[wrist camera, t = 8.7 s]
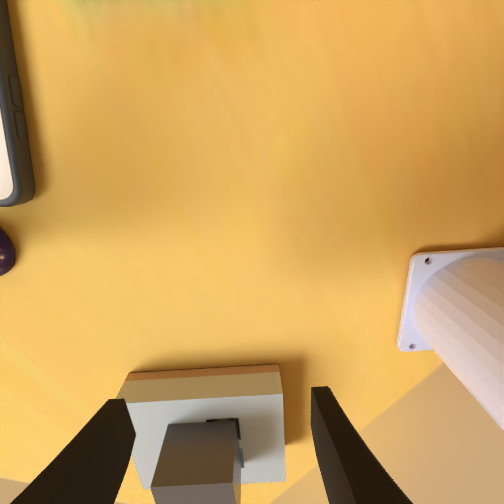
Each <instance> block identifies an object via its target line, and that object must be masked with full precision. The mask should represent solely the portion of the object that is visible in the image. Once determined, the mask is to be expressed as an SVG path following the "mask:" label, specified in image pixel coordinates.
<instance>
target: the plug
mask: <svg viewBox="0 0 504 504" xmlns="http://www.w3.org/2000/svg"><path fill="white" fill-rule="evenodd" d="M150 488H151V491H152V494H153V497H154V500H155V503H156V504H240V497H241V458H240V450H239V442H238V435H237V427H236V420H233V421H230V418H224V419H218V421H215V422H198V423H181V424H168V426H167V430H166V433H165V437H164V440H163V444H162V447H161V451H160V454H159V458H158V462H157V465H156V469H155V472H154V476H153V479H152V483H151V486H150Z"/></svg>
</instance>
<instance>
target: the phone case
mask: <svg viewBox="0 0 504 504" xmlns="http://www.w3.org/2000/svg"><path fill="white" fill-rule="evenodd" d="M34 191H35V183H34V176H33V169H32V162H31V156H30V149H29V142H28V135H27V128H26V122H25V116H24V109H23V103H22V96H21V90H20V84H19V77H18V71H17V64H16V58H15V52H14V45H13V39H12V32H11V26H10V20H9V13H8V7H7V1H6V0H0V207H11V206H15V205H19V204H23V203H25V202H27V201H29V200H30V199H31V198H32V197H33V195H34Z"/></svg>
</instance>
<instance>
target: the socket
mask: <svg viewBox="0 0 504 504" xmlns="http://www.w3.org/2000/svg"><path fill="white" fill-rule="evenodd" d="M123 398H124V399H125V402H126V405H127V408H128V411H129V414H130V417H131V420H132V423H133V426H134V429H135V432H136V438H135V442H134V446H133V450H132V453H131V456H132V459H133V461H134V464H135V467H136V470H137V473H138V476H139V478H140V481H141V484H142V487H143V489H151V488H150V486H151V483H152V479H153V476H154V472H155V469H156V465H157V462H158V458H159V454H160V451H161V447H162V444H163V440H164V437H165V433H166V430H167V426H168V424H181V423H198V422H215V421H218V419H224V418H230V421H233V420H236V427H237V435H238V442H239V450H240V458H241V484H248V483H267V482H285V481H286V472H285V442H284V413H283V391H282V384H281V377H280V369H279V364H270V365H254V366H237V367H221V368H205V369H188V370H172V371H155V372H139V373H129V374H128V376H127V378H126V380H125V382H124V384H123V386H122V388H121V389H120V391H119V393H118V395H117V397H116V399H123Z"/></svg>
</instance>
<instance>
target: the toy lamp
mask: <svg viewBox="0 0 504 504" xmlns="http://www.w3.org/2000/svg"><path fill="white" fill-rule="evenodd" d="M14 261H15V252H14V248H13V246H12V243H11V241H10V240H9V238H8V237H7V236H6V234H5V233H4V232H3V231H2V230H1V229H0V276H1V275H4V274H5V273H7V272H8V271H9V270H10V269H11V268H12V266H13V264H14Z"/></svg>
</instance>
